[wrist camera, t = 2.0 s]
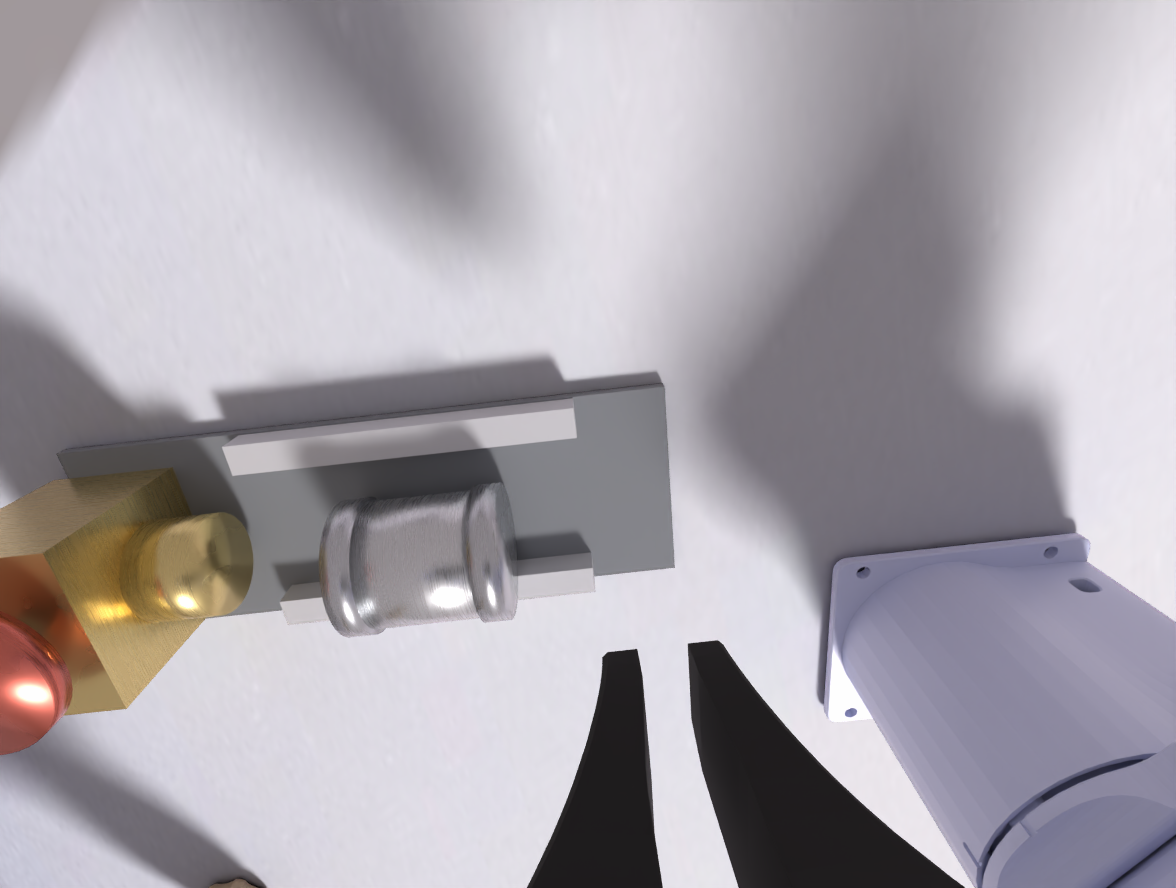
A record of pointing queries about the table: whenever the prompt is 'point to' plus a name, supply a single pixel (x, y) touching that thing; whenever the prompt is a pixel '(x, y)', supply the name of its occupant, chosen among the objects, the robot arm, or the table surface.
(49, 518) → the valve
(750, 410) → the table surface
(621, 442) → the grey railed tray
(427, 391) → the table surface
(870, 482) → the table surface
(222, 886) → the handle
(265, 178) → the table surface
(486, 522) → the coupling
